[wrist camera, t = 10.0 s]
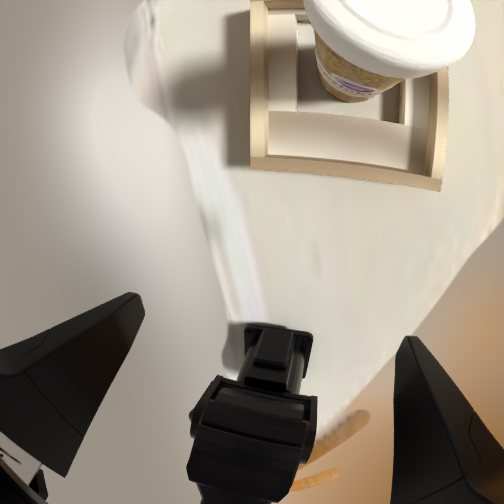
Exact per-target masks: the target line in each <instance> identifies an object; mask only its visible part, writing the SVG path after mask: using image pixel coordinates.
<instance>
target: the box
mask: <svg viewBox="0 0 504 504" xmlns="http://www.w3.org/2000/svg"><path fill="white" fill-rule="evenodd" d="M297 21H299V22H310V21H309V19H308V16H307V14H306V10H305V6H304V1H303V0H250V170H269V171H284V172H298V173H310V174H321V175H330V176H340V177H348V178H356V179H364V180H371V181H379V182H385V183H392V184H398V185H404V186H410V187H416V188H421V189H427V190H432V191H437V192H440V190H441V184H442V177H443V170H444V163H445V154H446V144H447V132H448V114H449V70H448V67H446V68H444V69H442V70H439V71H437V72H434V73H432V74H429V75H426V76H423V77H418V78H410V79H405V80H403V81H401V82H400V105H399V124H398V123H392V122H386V121H380V120H374V119H367V118H360V117H352V116H344V115H334V114H323V113H309V112H298V33H297Z"/></svg>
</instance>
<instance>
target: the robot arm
mask: <svg viewBox="0 0 504 504" xmlns="http://www.w3.org/2000/svg"><path fill="white" fill-rule="evenodd" d="M144 316H145V310H144V307H143V304H142V300H141V297H140V295H139V294H137V293H133V292H128V293H125V294H124V295H121V296H119V297H117V298H114V299H112V300H110V301H108V302H106V303H104V304H101V305H99V306H97V307H95V308H93V309H91V310H88V311H86V312H84V313H82V314H80V315H78V316H76V317H74V318H72V319H69V320H67V321H65V322H63V323H61V324H59V325H56V326H54V327H52V328H51V329H48V330H46V331H44V332H42V333H40V334H37V335H35V336H33V337H31V338H28V339H26V340H23V341H21V342H18V343H16V344H13V345H11V346H8V347H5V348H3V349H0V504H48V503H47V502H46V501H45V500H46V499H47V497H48V492H47V488H46V484H45V479H44V474H43V470H41V469H40V467H41V465H42V464H44V465H45V466H47V467H48V468H50V469H51V470H53V471H54V472H56V473H57V474H59V475H61V476H63V477H64V478H65V477H66V475H67V473H68V471H69V468H70V467H71V464H72V462H73V460H74V458H75V456H76V453H77V451H78V449H79V447H80V445H81V443H82V441H83V439H84V436H85V434H86V432H87V430H88V428H89V426H90V424H91V422H92V420H93V418H94V416H95V414H96V412H97V410H98V408H99V406H100V404H101V402H102V400H103V398H104V397H105V395H106V393H107V390H108V389H109V387H110V385H111V383H112V382H113V380H114V378H115V376H116V374H117V372H118V370H119V368H120V367H121V365H122V363H123V361H124V360H125V358H126V356H127V354H128V352H129V350H130V348H131V346H132V344H133V341H134V339H135V337H136V335H137V332H138V330H139V328H140V326H141V323H142V321H143V319H144ZM249 329H250V330H249ZM306 338H309V339H306ZM244 340H245V359H244V362H243V365H242V367H241V370H240V373H239V375H238V378H237V380H236V381H235V380H231V379H227V378H223V376H220V375H217V376H216V377H215V379H214V381H212V382H211V383H210V385H209V386H208V388H207V389H206V391H205V392H204V394H203V395H202V397H201V398H200V400H199V401H198V403H197V404H196V406H195V408H194V409H192V411H190V413H189V419H190V421H191V428H190V435H191V437H192V438H195V439H194V443H193V447H192V451H191V454H190V458H189V461H188V463H187V467H186V469H187V473H188V478H189V480H190V481H192V482H195V483H196V484H197V486H198V489H199V491H200V494H201V496H202V500H201V504H271V503H272V502H275V503H278V502H279V501H281V500H282V499H283V498H284V497H285V496H286V495H287V494H288V492H289V490H290V488H291V486H292V484H293V481H294V478H295V475H296V472H297V469H298V466H299V463H300V464H306V463H307V461H308V459H309V457H310V455H311V452H312V449H313V445H314V441H315V436H316V429H317V396H305V395H299V392H300V387H301V381H302V379H303V378H305V376H306V372H307V367H308V362H309V358H310V353H311V348H312V343H313V335H312V334H310V333H304V332H296V331H289V330H282V329H275V328H268V327H262V326H256V325H246V327H245V329H244ZM393 403H394V459H393V477H392V490H391V501H390V504H504V449H503V447H502V446H501V445H500V444H499V442H498V441H497V440H496V439H495V438H494V436H493V435H492V434H491V432H490V431H489V430H488V429H487V427H486V426H485V424H484V423H483V422H482V420H481V419H480V417H479V416H478V414H477V413H476V412H475V411H474V409H473V407H472V406H471V405H470V403H469V402H468V400H467V399H466V398H465V397H464V395H463V394H462V392H461V391H460V390H459V388H458V387H457V386H456V384H455V383H454V382H453V380H452V379H451V378H450V376H449V375H448V374H447V373H446V371H445V370H444V369H443V367H442V366H441V365H440V364H439V362H438V361H437V360H436V358H435V357H434V356H433V355H432V353H431V352H430V351H429V350H428V349H427V347H426V346H425V345H424V344H423V343H422V341H421V340H420V339H419V338H418V337H417V336H405V337H404V339H403V341H402V343H401V345H400V347H399V349H398V351H397V353H396V359H395V381H394V399H393Z"/></svg>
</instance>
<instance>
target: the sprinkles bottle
mask: <svg viewBox="0 0 504 504" xmlns="http://www.w3.org/2000/svg"><path fill="white" fill-rule="evenodd" d="M303 1H304V6H305V10H306V14H307V16H308V19H309V21H310V23H311V25H312V27H313V28H314V33H315V42H316V46H315V53H316V60H317V71H318V76H319V78H320V81H321V83H322V85H323V86H324V88H325V89H326V90H327V91H328V92H329V93H331V94H332V95H334V96H335V97H337V98H338V99H340V100H344V101H347V102H362V101H366V100H369V99H371V98H373V97H374V96H375V95H377V94H380V93H382V92H384V91H386V90H388V89H390V88H391V87H393V86H395V85H396V84H398V83H400V82H401V81H403V80H405V79H410V78H418V77H423V76H426V75H429V74H432V73H434V72H437V71H439V70H442V69H444V68H446V67H448V66H450V65H452V64H454V63H456V62H457V61H458V60H460V59H461V58H462V57H463V56H464V55H465V54H466V53H467V51H468V50H469V48H470V46H471V44H472V42H473V38H474V34H475V18H474V13H473V9H472V5H471V3H470V0H303Z"/></svg>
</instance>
